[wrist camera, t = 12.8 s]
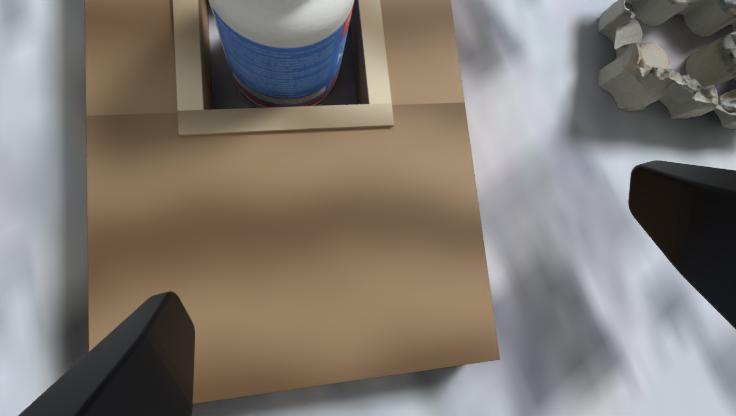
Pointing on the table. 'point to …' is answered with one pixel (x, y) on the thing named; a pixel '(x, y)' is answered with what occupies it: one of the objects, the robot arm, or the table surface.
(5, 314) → the table surface
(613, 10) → the egg carton
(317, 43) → the pill bottle
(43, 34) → the table surface
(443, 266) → the socket board
